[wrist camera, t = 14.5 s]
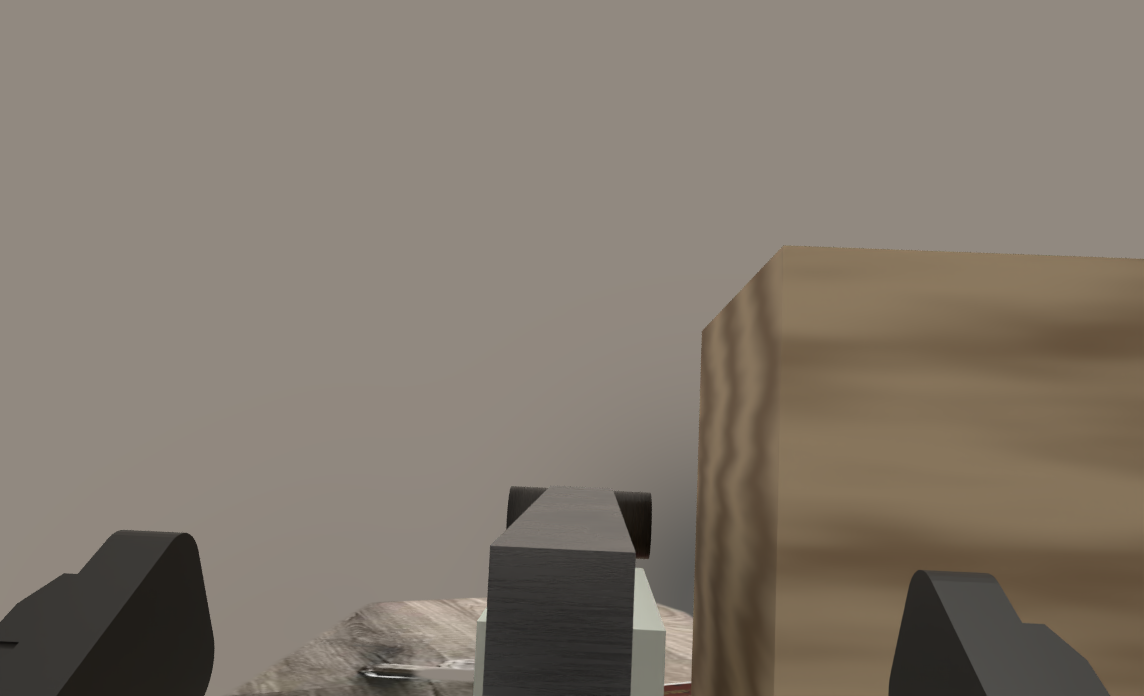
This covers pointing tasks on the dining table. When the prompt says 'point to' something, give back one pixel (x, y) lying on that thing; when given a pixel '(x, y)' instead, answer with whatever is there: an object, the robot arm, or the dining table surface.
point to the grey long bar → (564, 592)
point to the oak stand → (916, 460)
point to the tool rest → (644, 644)
